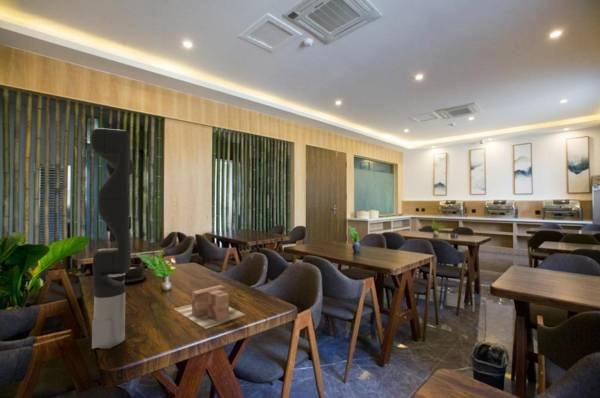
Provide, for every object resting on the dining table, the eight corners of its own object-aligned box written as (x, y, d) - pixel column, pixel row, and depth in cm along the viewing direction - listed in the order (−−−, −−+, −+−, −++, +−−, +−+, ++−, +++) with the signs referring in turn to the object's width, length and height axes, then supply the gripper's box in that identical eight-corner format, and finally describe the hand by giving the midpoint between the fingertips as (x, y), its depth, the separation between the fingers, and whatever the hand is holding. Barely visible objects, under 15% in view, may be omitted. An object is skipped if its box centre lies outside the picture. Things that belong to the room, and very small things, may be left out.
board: (173, 310, 129) (173, 308, 129) (211, 300, 143) (211, 298, 143) (205, 330, 109) (205, 328, 109) (245, 316, 123) (245, 314, 123)
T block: (191, 314, 122) (192, 291, 122) (220, 306, 133) (220, 284, 133) (208, 324, 113) (208, 299, 113) (237, 314, 123) (237, 291, 123)
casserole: (108, 278, 181) (108, 265, 181) (140, 273, 194) (140, 261, 194) (115, 287, 163) (116, 272, 163) (151, 281, 175) (151, 267, 175)
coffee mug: (115, 296, 147) (116, 277, 147) (102, 295, 149) (102, 276, 149) (133, 289, 158) (133, 272, 158) (120, 288, 160) (120, 271, 160)
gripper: (118, 203, 118) (118, 242, 117) (137, 203, 132) (136, 238, 132) (100, 203, 118) (99, 242, 117) (120, 203, 132) (120, 238, 131)
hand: (119, 240), depth 124 cm, fingers open, 8 cm apart
